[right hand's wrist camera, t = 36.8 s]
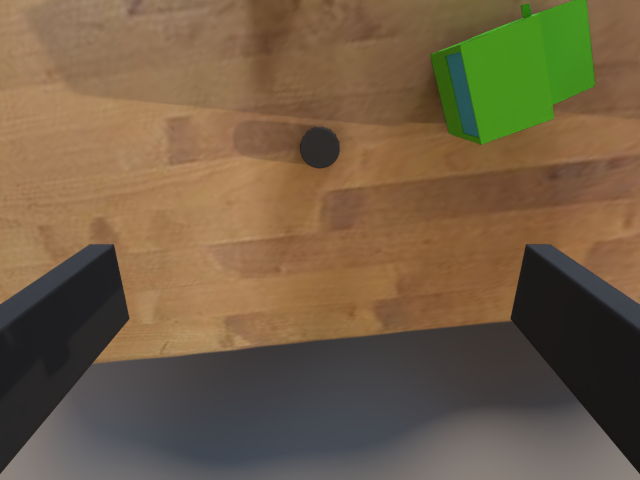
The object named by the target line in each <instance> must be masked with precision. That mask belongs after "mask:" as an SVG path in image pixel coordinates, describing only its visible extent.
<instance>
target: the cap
mask: <svg viewBox="0 0 640 480" xmlns="http://www.w3.org/2000/svg"><path fill="white" fill-rule="evenodd" d="M300 151H301V155H302V157H303V159H304V161H305V162H306V163H307V164H309V165H310V166H312V167H315V168H325V167H328V166H330V165H331V164H333V163H334V162H335V160H336V159H337V157H338V155H339V151H340V147H339V141H338V139H337V137H336V134H334V133H333V132H332V131H331V130H330V129H328V128H325V127H323V126H322V127H315V128H312V129H310V130H309V131H308V132H307V133H306V134H305V135H304V136H303V139H302V142H301V144H300Z"/></svg>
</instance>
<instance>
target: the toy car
mask: <svg viewBox="0 0 640 480" xmlns="http://www.w3.org/2000/svg"><path fill="white" fill-rule="evenodd" d="M521 9H522V15H523V18H522V19H519V20H517V21H514V22H511V23H508V24H506V25H503V26H501V27H498V28H496V29H493V30H491V31H488V32H485V33H483V34H480V35H478V36H475V37H473V38H470V39H469V40H466V41H464V42H461V43H459V44H456V45H454V46H451V47H448V48H446V49H443V50H440V51H438V52H435V53H433V54H430V57H431V61H432V65H433V69H434V73H435V77H436V82H437V86H438V90H439V94H440V98H441V102H442V106H443V110H444V115H445V119H446V123H447V127H448V131H449V134H452V135H454V136H457V137H460V138H463V139H466V140H469V141H472V142H475V143H478V144H481V145H482V144H485V143H488V142H490V141H493V140H496V139H499V138H501V137H504V136H507V135H510V134H513V133H515V132H518V131H521V130H524V129H526V128H529V127H532V126H535V125H538V124H540V123H543V122H546V121H549V120H552V119H554V113H553V106H552V105H554V104H556V103H558V102H561V101H563V100H565V99H567V98H569V97H572V96H574V95H576V94H578V93H581V92H583V91H585V90H587V89H590V88H592V87H594V86H595V77H594V67H593V58H592V49H591V39H590V29H589V20H588V9H587V0H573V1H570V2H568V3H565V4H562V5H559V6H556V7H553V8H551V9H548V10H545V11H542V12H538V13H536V14H533V15H532V14H531V8H530V3H528V4H525V5H521Z"/></svg>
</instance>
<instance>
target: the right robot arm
mask: <svg viewBox="0 0 640 480" xmlns="http://www.w3.org/2000/svg"><path fill="white" fill-rule="evenodd" d="M128 320H129V314H128V309H127V305H126V300H125V295H124V290H123V286H122V281H121V276H120V271H119V267H118V262H117V257H116V252H115V248H114V244H90V245H88V246H87V247H85V248H84V249H82V250H81V251H79V252H78V253H76V254H75V255H73V256H72V257H70V258H69V259H67V260H66V261H64V262H63V263H61V264H60V265H58V266H57V267H56V268H54V269H53V270H51V271H50V272H48V273H47V274H45V275H44V276H42V277H41V278H39V279H38V280H36V281H35V282H33V283H32V284H30V285H29V286H27V287H26V288H24V289H23V290H21V291H20V292H18V293H17V294H15V295H14V296H12V297H11V298H9V299H8V300H6V301H5V302H3V303H2V304H0V473H1V472H2V471H3V470H4V469H5V467H6V466H7V465H8V464H9V463H10V462H11V460H12V459H13V458H14V457H15V456H16V454H17V453H18V452H19V451H20V449H21V448H22V447H23V446H24V445H25V444H26V442H27V441H28V440H29V439H30V438H31V436H32V435H33V434H34V433H35V432H36V430H37V429H38V428H39V427H40V425H41V424H42V423H43V422H44V421H45V420H46V418H47V417H48V416H49V415H50V414H51V412H52V411H53V410H54V409H55V408H56V406H57V405H58V404H59V403H60V401H61V400H62V399H63V398H64V397H65V395H66V394H67V393H68V392H69V391H70V389H71V388H72V387H73V386H74V385H75V383H76V382H77V381H78V380H79V379H80V377H81V376H82V375H83V374H84V373H85V371H86V370H87V369H88V368H89V367H90V365H91V364H92V363H93V362H94V361H95V359H96V358H97V357H98V356H99V355H100V353H101V352H102V351H103V350H104V349H105V347H106V346H107V345H108V344H109V343H110V341H111V340H112V339H113V338H114V337H115V335H116V334H117V333H118V332H119V331H120V329H121V328H122V327H123V326H124V325H125V323H126V322H127V321H128ZM511 320H512V321H513V322H514V323H515V325H516V326H517V327H518V328H519V329H520V331H521V332H522V333H523V334H524V335H525V337H526V338H527V339H528V340H529V341H530V343H531V344H532V345H533V346H534V347H535V349H536V350H537V351H538V352H539V353H540V355H541V356H542V357H543V358H544V359H545V361H546V362H547V363H548V364H549V365H550V367H551V368H552V369H553V370H554V371H555V373H556V374H557V375H558V376H559V377H560V379H561V380H562V381H563V382H564V383H565V385H566V386H567V387H568V388H569V389H570V391H571V392H572V393H573V394H574V396H575V397H576V398H577V399H578V400H579V401H580V403H581V404H582V405H583V406H584V408H585V409H586V410H587V411H588V412H589V414H590V415H591V416H592V417H593V418H594V420H595V421H596V422H597V423H598V424H599V425H600V427H601V428H602V429H603V430H604V431H605V433H606V434H607V435H608V436H609V438H610V439H611V440H612V441H613V442H614V444H615V445H616V446H617V447H618V448H619V449H620V451H621V452H622V453H623V454H624V455H625V457H626V458H627V459H628V460H629V461H630V463H631V464H632V465H633V466H634V468H635V469H636V470H637V471H638V472H639V474H640V304H638V303H637V302H635V301H634V300H632V299H631V298H629V297H628V296H626V295H625V294H623V293H622V292H620V291H619V290H617V289H616V288H614V287H613V286H611V285H610V284H608V283H607V282H605V281H604V280H602V279H601V278H599V277H598V276H596V275H595V274H593V273H592V272H590V271H589V270H587V269H586V268H584V267H583V266H582V265H580V264H579V263H577V262H576V261H574V260H573V259H571V258H570V257H568V256H567V255H565V254H564V253H562V252H561V251H559V250H558V249H556V248H555V247H553V246H552V245H550V244H526V248H525V252H524V257H523V262H522V267H521V271H520V276H519V281H518V286H517V290H516V295H515V300H514V305H513V309H512V314H511Z"/></svg>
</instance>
